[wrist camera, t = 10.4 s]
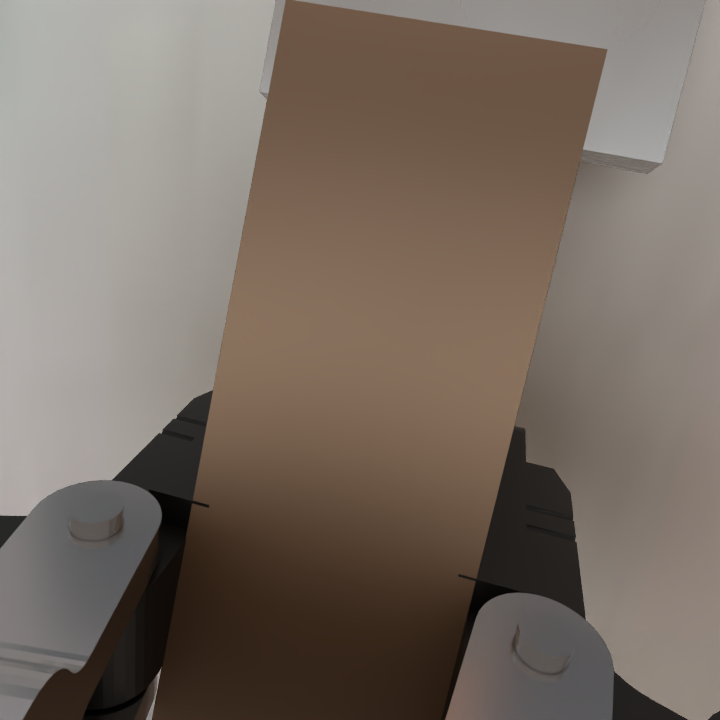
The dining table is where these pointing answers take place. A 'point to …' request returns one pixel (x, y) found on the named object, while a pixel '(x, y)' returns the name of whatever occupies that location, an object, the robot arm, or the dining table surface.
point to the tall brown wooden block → (391, 334)
